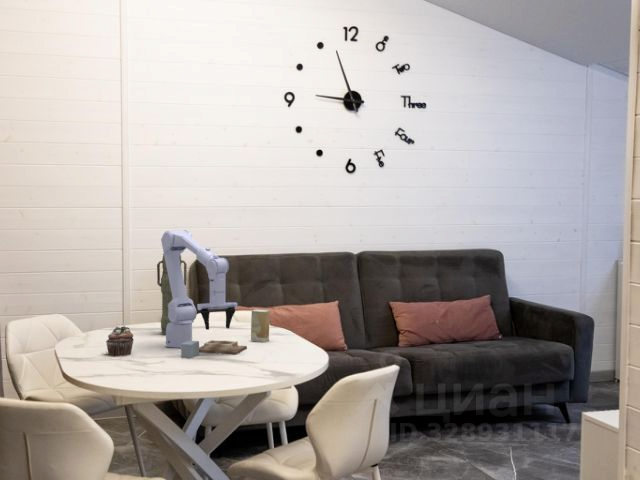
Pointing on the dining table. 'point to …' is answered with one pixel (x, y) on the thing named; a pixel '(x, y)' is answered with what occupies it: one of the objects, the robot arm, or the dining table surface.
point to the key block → (189, 349)
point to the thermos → (167, 291)
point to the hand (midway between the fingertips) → (217, 328)
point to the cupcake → (120, 342)
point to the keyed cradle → (221, 347)
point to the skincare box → (260, 325)
